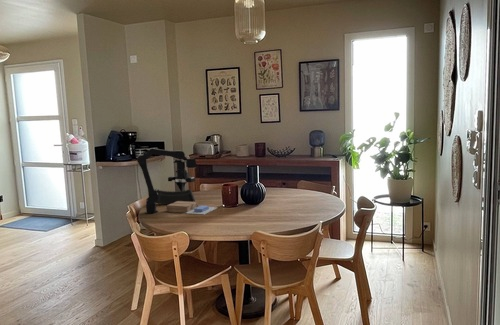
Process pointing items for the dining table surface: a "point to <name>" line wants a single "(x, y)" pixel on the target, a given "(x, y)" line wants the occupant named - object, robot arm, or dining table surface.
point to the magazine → (174, 196)
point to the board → (182, 206)
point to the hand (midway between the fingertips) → (181, 191)
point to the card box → (201, 208)
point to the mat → (203, 211)
